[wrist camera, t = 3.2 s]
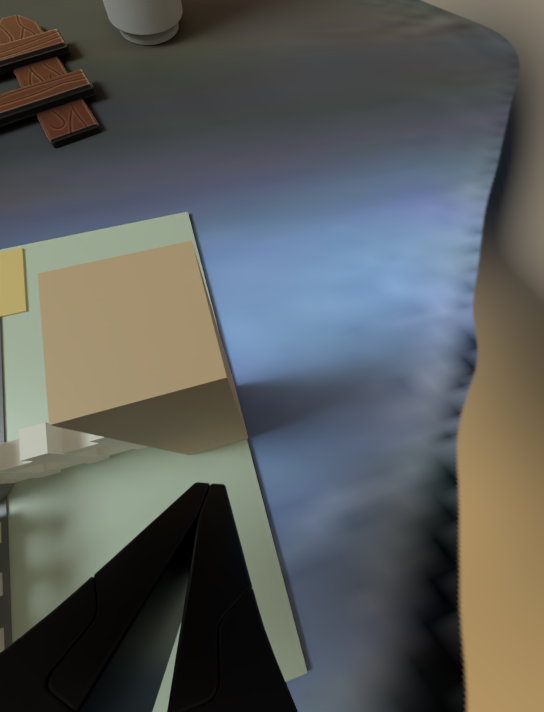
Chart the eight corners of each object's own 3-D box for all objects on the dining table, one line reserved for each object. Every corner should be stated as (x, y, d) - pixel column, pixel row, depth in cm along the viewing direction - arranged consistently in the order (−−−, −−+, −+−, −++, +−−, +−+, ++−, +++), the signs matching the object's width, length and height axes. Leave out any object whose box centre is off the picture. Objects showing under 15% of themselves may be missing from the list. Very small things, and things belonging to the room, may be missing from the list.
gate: (21, 504, 15) (-558, 588, 4) (18, 440, 16) (-468, 381, 5) (248, 438, 17) (227, 377, 6) (234, 382, 18) (191, 240, 7)
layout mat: (306, 670, 14) (308, 674, 14) (-136, 843, 12) (-147, 853, 12) (188, 214, 22) (187, 210, 21) (-95, 271, 20) (-101, 268, 19)
